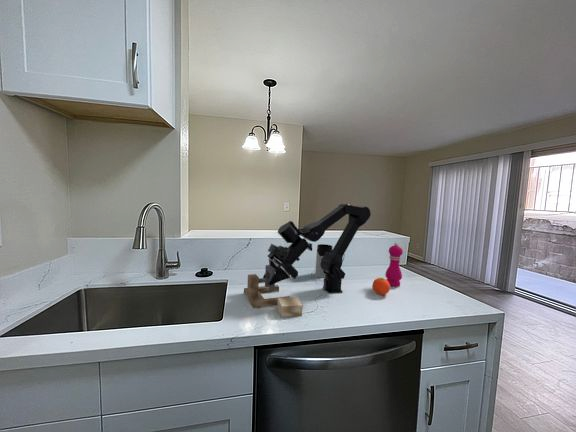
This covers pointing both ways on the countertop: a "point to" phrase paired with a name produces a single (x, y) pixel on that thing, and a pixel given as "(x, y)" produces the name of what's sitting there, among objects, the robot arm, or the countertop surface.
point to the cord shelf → (254, 292)
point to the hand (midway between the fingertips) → (266, 281)
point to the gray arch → (269, 274)
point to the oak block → (289, 306)
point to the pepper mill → (394, 266)
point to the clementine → (381, 286)
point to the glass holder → (320, 253)
